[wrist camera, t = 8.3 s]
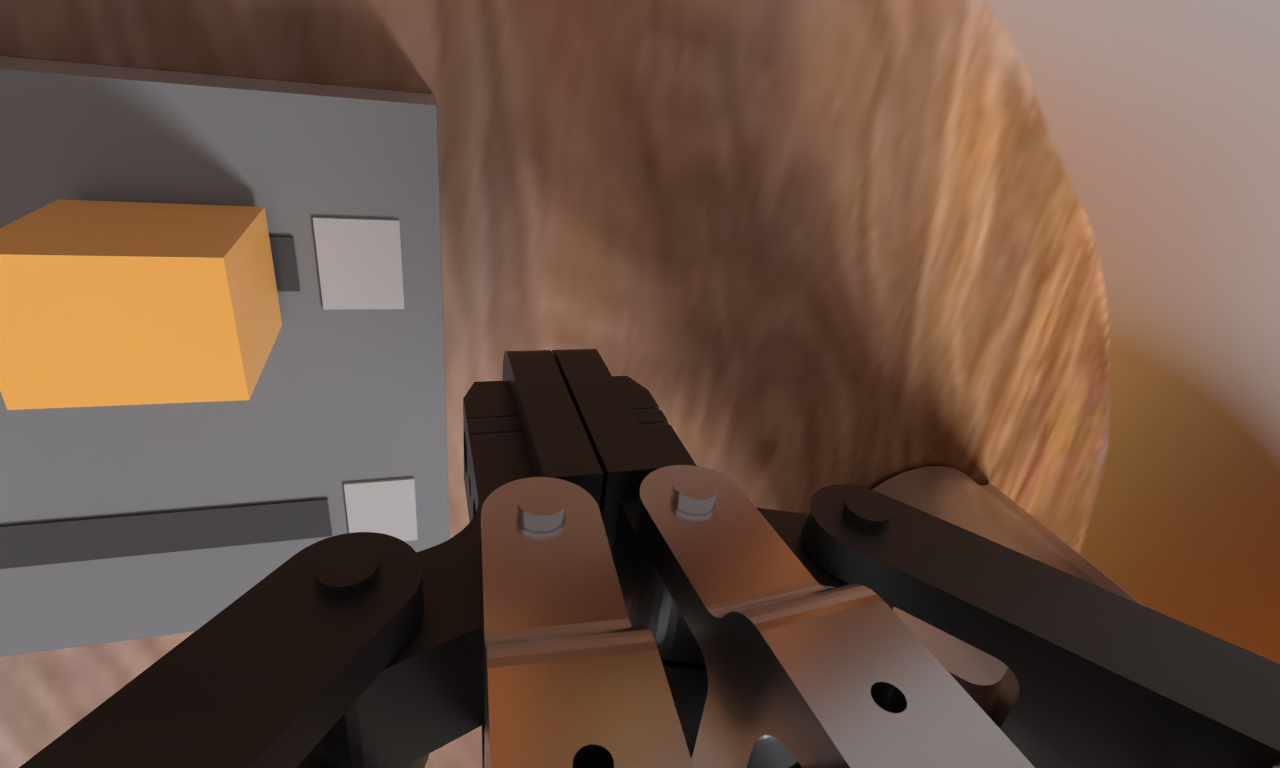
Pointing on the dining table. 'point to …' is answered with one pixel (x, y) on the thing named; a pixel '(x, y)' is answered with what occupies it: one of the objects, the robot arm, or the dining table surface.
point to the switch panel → (291, 378)
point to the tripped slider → (135, 304)
